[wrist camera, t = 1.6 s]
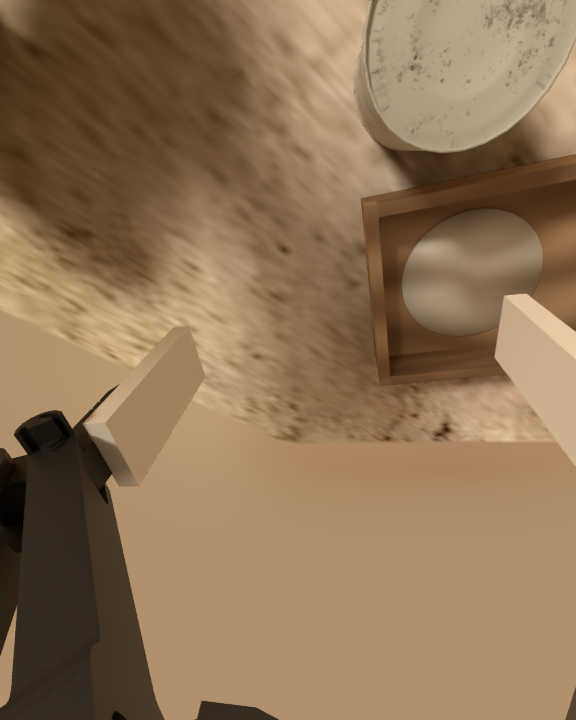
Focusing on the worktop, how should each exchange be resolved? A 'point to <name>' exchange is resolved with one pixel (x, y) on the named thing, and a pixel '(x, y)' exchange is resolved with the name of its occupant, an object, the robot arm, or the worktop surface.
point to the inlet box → (467, 266)
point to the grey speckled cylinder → (457, 68)
